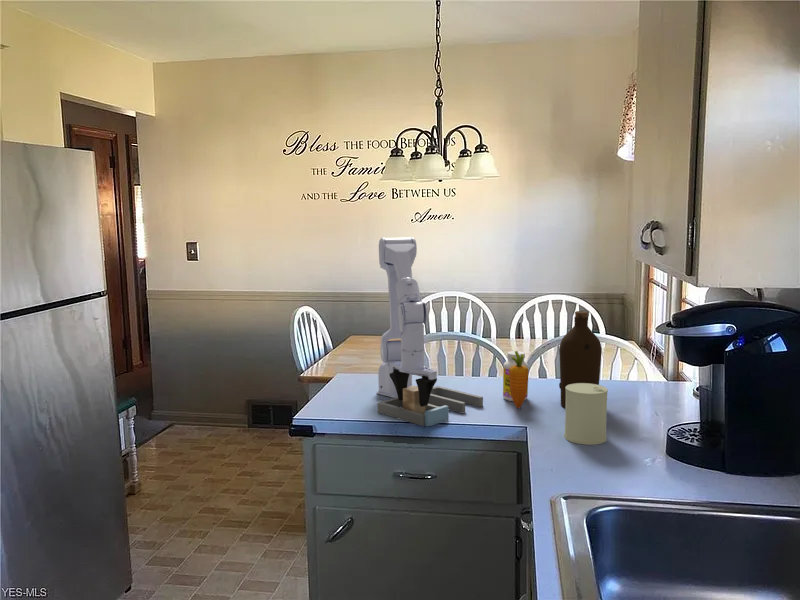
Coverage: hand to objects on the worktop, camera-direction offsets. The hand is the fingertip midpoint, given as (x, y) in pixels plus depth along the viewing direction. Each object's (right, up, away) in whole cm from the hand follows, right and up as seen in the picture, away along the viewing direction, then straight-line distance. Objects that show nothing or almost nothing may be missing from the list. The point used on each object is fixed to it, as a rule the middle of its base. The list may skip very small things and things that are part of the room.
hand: (413, 402), depth 165 cm
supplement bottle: (+28, -1, +15) cm, 32 cm away
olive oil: (+44, -2, +7) cm, 44 cm away
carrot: (+27, -3, +5) cm, 28 cm away
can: (+38, -6, -17) cm, 42 cm away
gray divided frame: (+5, -3, +5) cm, 8 cm away
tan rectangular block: (0, -3, +1) cm, 4 cm away
